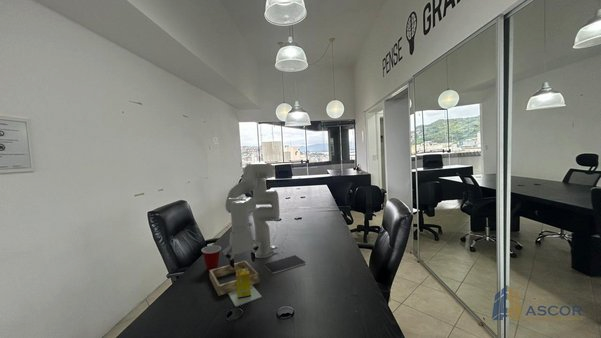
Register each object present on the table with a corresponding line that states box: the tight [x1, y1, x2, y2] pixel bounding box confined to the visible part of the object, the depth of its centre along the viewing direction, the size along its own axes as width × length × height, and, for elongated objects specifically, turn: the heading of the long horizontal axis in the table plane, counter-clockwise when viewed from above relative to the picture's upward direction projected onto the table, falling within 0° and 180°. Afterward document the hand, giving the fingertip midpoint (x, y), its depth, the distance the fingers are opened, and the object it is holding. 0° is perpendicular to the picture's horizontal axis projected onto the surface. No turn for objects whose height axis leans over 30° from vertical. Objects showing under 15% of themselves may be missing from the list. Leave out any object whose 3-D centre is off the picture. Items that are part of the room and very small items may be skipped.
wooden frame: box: [208, 260, 260, 297], centre depth 127 cm, size 20×20×4 cm
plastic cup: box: [201, 244, 222, 271], centre depth 142 cm, size 11×11×12 cm
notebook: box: [263, 254, 306, 274], centre depth 142 cm, size 13×2×21 cm
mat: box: [227, 284, 262, 307], centre depth 112 cm, size 12×12×1 cm
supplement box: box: [235, 268, 251, 299], centre depth 112 cm, size 6×6×11 cm
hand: (243, 263), depth 112 cm, fingers open, 9 cm apart
